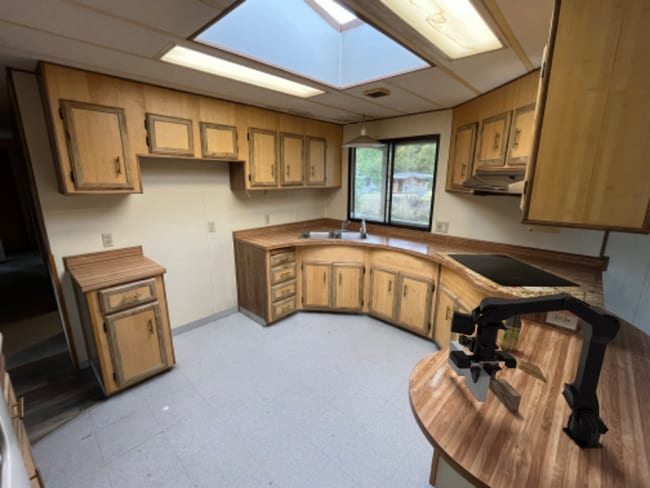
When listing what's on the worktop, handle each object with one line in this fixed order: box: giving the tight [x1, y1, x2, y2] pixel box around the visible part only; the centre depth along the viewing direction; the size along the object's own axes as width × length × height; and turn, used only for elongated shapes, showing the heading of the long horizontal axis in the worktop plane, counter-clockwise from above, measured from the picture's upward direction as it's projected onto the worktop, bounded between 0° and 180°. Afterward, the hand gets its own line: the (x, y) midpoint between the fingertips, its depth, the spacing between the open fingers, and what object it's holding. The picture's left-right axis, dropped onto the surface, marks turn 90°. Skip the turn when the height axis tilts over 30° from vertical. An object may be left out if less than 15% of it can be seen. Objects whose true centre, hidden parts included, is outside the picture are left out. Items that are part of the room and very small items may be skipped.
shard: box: [517, 359, 548, 383], centre depth 111 cm, size 11×8×2 cm
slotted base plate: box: [479, 363, 522, 413], centre depth 100 cm, size 20×2×6 cm, turn 3°
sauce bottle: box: [499, 315, 523, 353], centre depth 124 cm, size 7×6×20 cm
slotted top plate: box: [447, 340, 490, 403], centre depth 97 cm, size 20×2×9 cm, turn 3°
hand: (478, 382), depth 90 cm, fingers closed on slotted top plate, 2 cm apart
